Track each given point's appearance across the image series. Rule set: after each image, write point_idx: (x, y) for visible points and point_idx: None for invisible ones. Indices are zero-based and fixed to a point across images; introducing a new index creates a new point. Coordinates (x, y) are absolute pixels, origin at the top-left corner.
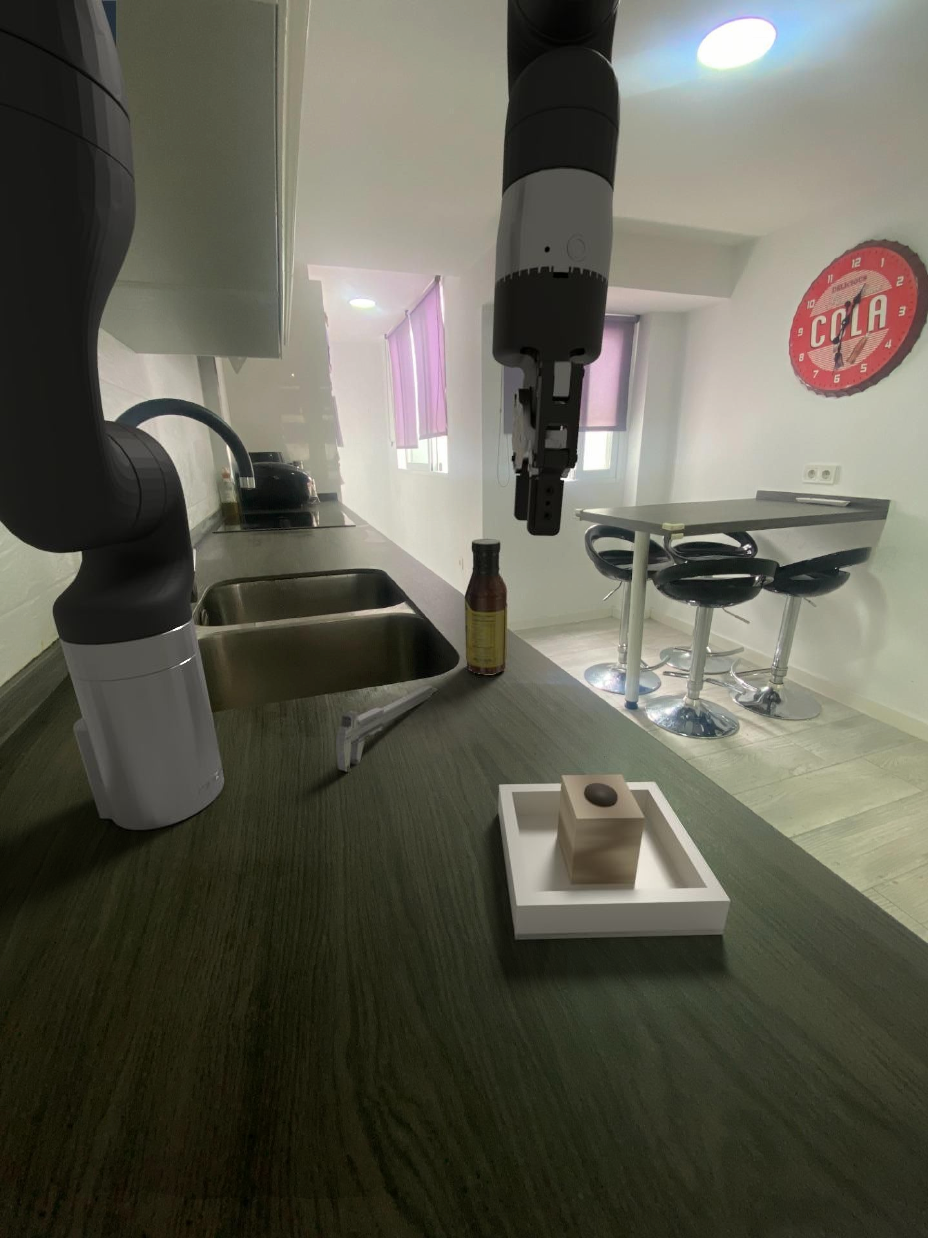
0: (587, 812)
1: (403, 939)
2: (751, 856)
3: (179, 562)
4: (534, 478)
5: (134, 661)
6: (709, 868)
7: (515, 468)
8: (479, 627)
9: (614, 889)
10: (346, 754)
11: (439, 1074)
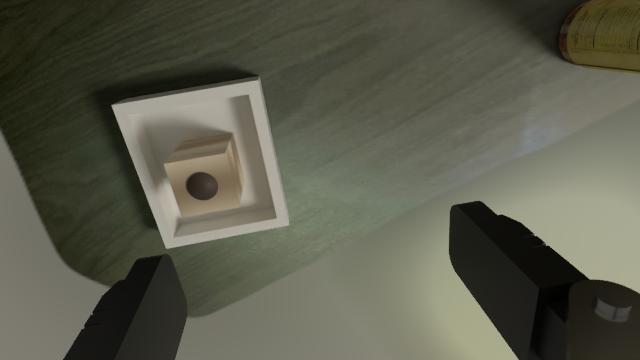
0: (174, 173)
1: (94, 5)
2: (249, 266)
3: None
4: (523, 336)
5: None
6: (192, 243)
7: (588, 300)
8: (632, 21)
9: None
10: None
11: (17, 54)
